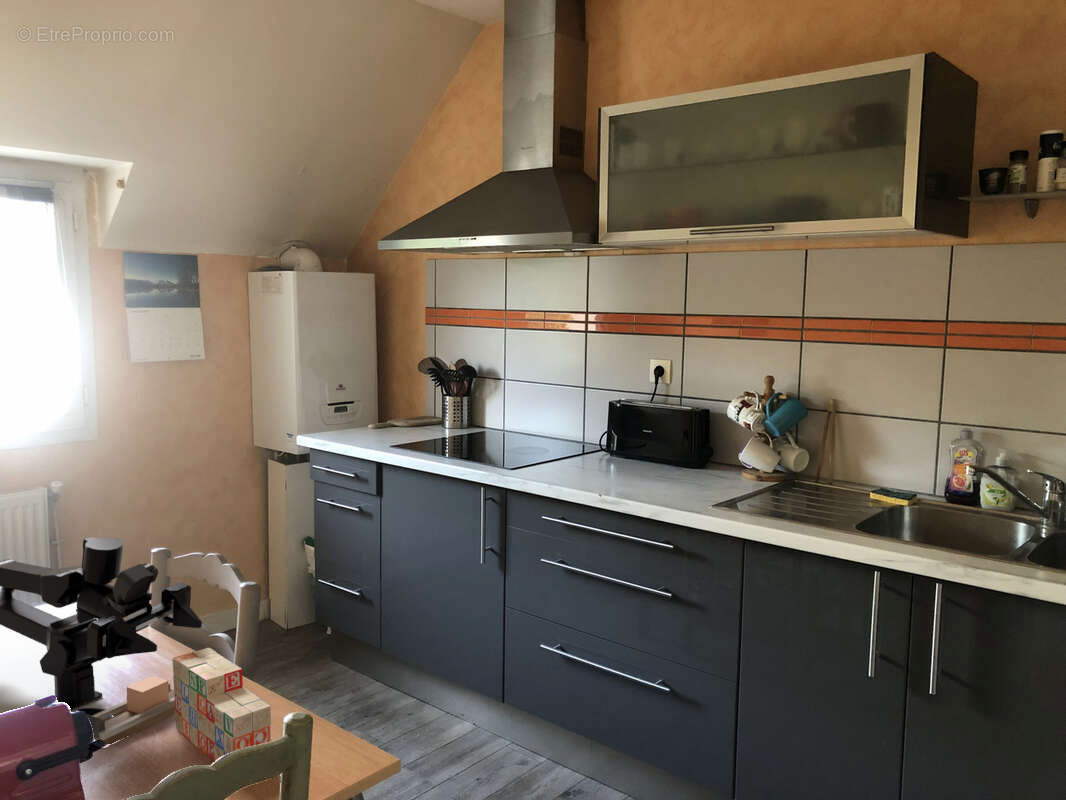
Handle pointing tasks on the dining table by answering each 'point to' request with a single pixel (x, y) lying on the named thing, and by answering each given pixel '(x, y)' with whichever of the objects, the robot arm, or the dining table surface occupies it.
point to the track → (129, 719)
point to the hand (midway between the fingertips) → (179, 636)
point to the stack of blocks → (217, 704)
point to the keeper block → (147, 694)
